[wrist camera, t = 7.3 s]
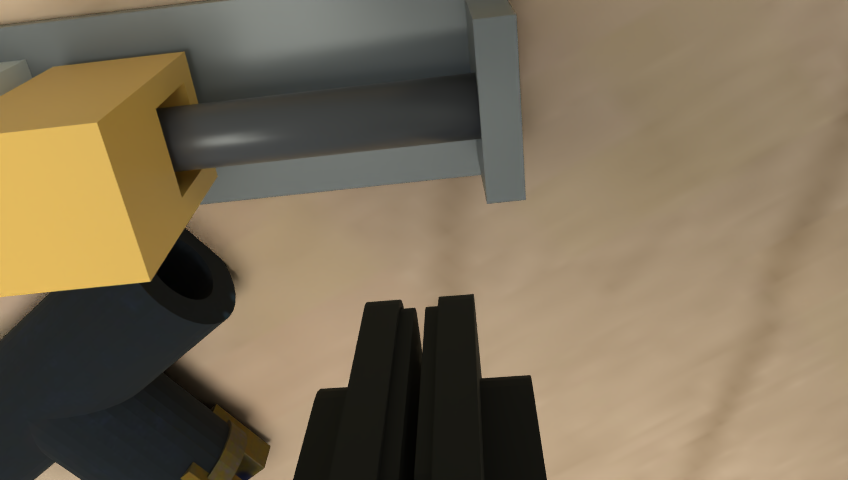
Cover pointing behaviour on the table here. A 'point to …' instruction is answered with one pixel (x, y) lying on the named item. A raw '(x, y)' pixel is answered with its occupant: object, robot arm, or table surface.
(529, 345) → the table surface
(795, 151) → the table surface
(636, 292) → the table surface
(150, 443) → the pipe connector
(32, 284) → the yellow sliding block
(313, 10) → the grey slider rail base
